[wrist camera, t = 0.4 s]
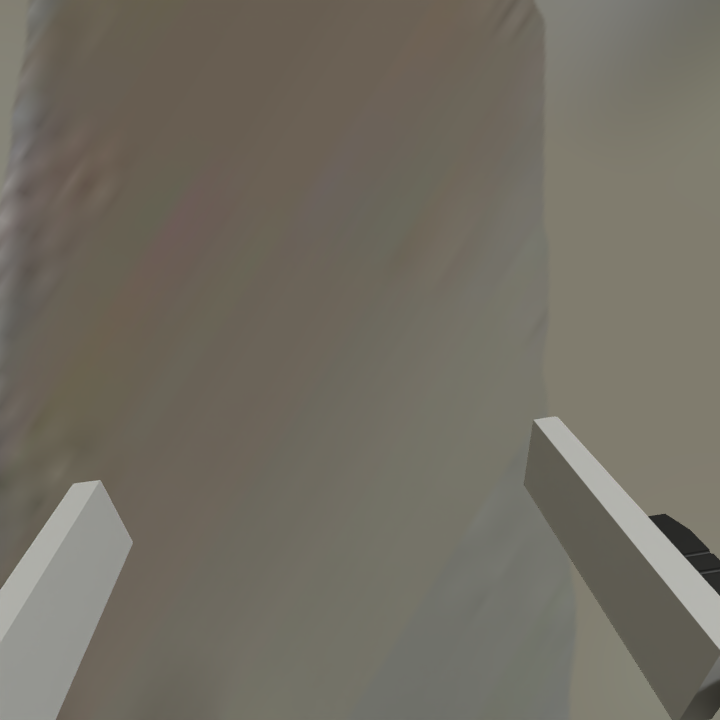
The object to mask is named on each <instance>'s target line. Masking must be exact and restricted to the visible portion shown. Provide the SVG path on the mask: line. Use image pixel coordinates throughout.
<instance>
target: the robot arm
mask: <svg viewBox="0 0 720 720" xmlns="http://www.w3.org/2000/svg"><path fill="white" fill-rule="evenodd" d="M524 486H525V487H526V489H527V490H528V492H529V493H530V495H531V497H532V498H533V500H534V501H535V503H536V505H537V506H538V508H539V509H540V511H541V513H542V514H543V516H544V517H545V519H546V520H547V522H548V524H549V525H550V527H551V528H552V530H553V532H554V533H555V535H556V536H557V538H558V539H559V541H560V543H561V544H562V546H563V547H564V549H565V551H566V552H567V554H568V555H569V557H570V559H571V560H572V562H573V563H574V565H575V566H576V568H577V570H578V571H579V573H580V574H581V576H582V577H583V579H584V581H585V582H586V584H587V585H588V587H589V589H590V590H591V592H592V593H593V595H594V596H595V598H596V600H597V601H598V603H599V604H600V606H601V608H602V609H603V611H604V612H605V614H606V616H607V617H608V619H609V620H610V622H611V623H612V625H613V627H614V628H615V630H616V632H617V633H618V635H619V636H620V638H621V639H622V641H623V642H624V644H625V645H626V647H627V649H628V650H629V652H630V654H631V655H632V657H633V658H634V660H635V662H636V663H637V665H638V666H639V668H640V670H641V671H642V673H643V674H644V676H645V678H646V679H647V681H648V682H649V684H650V685H651V687H652V689H653V690H654V692H655V693H656V695H657V697H658V698H659V700H660V701H661V703H662V704H663V706H664V708H665V709H666V711H667V712H668V714H669V716H670V717H671V719H672V720H709V719H712V718H713V716H714V715H715V713H716V712H717V711H718V709H719V708H720V560H719V559H718V558H717V557H716V556H715V555H714V554H711V553H710V551H709V549H708V548H707V547H706V546H705V545H704V544H703V543H702V542H701V541H700V540H699V539H698V538H697V537H696V536H695V534H694V533H693V532H692V531H691V530H690V529H688V528H686V527H685V526H683V525H682V524H680V523H679V522H677V521H675V520H674V519H672V518H671V517H669V516H668V515H666V514H661V515H655V516H647V515H646V514H645V513H644V512H643V511H642V510H641V509H640V507H639V506H638V505H637V504H636V503H635V502H634V501H633V500H632V499H631V498H630V496H629V495H628V494H627V493H626V492H625V491H624V490H623V489H622V488H621V487H620V486H619V484H618V483H617V482H616V481H615V480H614V479H613V478H612V477H611V475H609V473H608V472H607V471H606V470H605V469H604V468H603V467H602V466H601V465H600V463H599V462H598V461H597V460H596V459H595V458H594V457H593V456H592V455H591V453H590V452H589V451H588V450H587V449H586V448H585V447H584V446H583V445H582V444H581V442H580V441H579V440H578V439H577V438H576V437H575V436H574V435H573V434H572V432H571V431H570V430H569V429H568V428H567V427H566V426H565V425H564V424H563V423H562V422H561V420H560V419H559V418H558V417H549V418H542V419H535V420H533V425H532V432H531V439H530V446H529V452H528V459H527V466H526V473H525V480H524ZM132 543H133V542H132V540H131V538H130V536H129V534H128V532H127V530H126V528H125V526H124V525H123V523H122V521H121V519H120V517H119V515H118V513H117V511H116V509H115V507H114V505H113V503H112V502H111V500H110V498H109V496H108V494H107V492H106V490H105V488H104V486H103V484H102V482H101V480H97V481H90V482H82V483H75V484H73V485H72V486H71V488H70V489H69V491H68V492H67V494H66V495H65V497H64V498H63V499H62V501H61V502H60V504H59V505H58V507H57V508H56V510H55V511H54V513H53V514H52V515H51V517H50V518H49V520H48V521H47V523H46V524H45V526H44V527H43V529H42V530H41V532H40V533H39V534H38V536H37V537H36V539H35V540H34V542H33V543H32V545H31V546H30V548H29V549H28V550H27V552H26V553H25V555H24V556H23V558H22V559H21V561H20V562H19V564H18V565H17V566H16V568H15V569H14V571H13V572H12V574H11V575H10V577H9V578H8V580H7V581H6V582H5V584H4V585H3V587H2V588H1V590H0V720H56V717H57V715H58V713H59V710H60V708H61V706H62V704H63V701H64V699H65V697H66V694H67V692H68V690H69V688H70V685H71V683H72V681H73V678H74V676H75V674H76V672H77V669H78V667H79V665H80V662H81V660H82V658H83V656H84V653H85V651H86V649H87V646H88V644H89V642H90V640H91V637H92V635H93V633H94V630H95V628H96V626H97V624H98V621H99V619H100V617H101V614H102V612H103V610H104V608H105V605H106V603H107V601H108V598H109V596H110V594H111V592H112V589H113V587H114V585H115V582H116V580H117V578H118V575H119V573H120V571H121V569H122V566H123V564H124V562H125V559H126V557H127V555H128V553H129V550H130V548H131V546H132Z"/></svg>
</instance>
